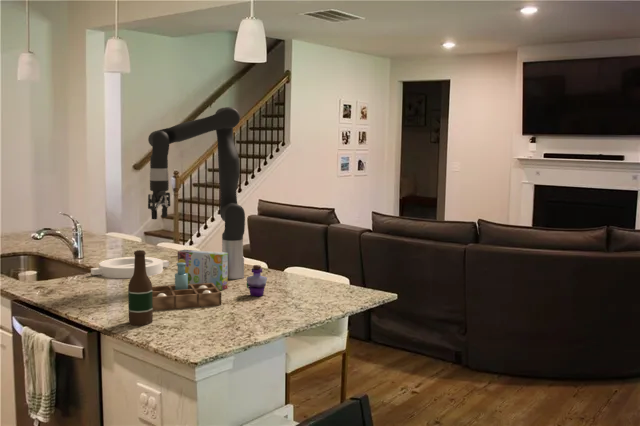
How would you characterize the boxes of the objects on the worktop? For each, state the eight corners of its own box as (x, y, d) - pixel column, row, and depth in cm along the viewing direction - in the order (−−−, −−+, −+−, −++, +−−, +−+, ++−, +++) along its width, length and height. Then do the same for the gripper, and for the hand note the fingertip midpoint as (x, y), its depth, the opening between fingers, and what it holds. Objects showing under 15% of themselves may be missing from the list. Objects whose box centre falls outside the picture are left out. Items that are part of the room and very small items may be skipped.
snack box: (228, 288, 248) (228, 252, 247) (221, 291, 243) (221, 254, 242) (183, 283, 255) (183, 248, 254) (176, 286, 250) (176, 250, 248)
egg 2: (207, 294, 234) (207, 284, 234) (209, 296, 230) (209, 286, 230) (197, 294, 233) (197, 284, 232) (198, 297, 229) (198, 286, 229)
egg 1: (166, 302, 221) (166, 291, 220) (168, 305, 217) (168, 294, 217) (155, 303, 219) (155, 292, 219) (156, 305, 216) (156, 294, 215)
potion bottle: (243, 293, 239) (243, 264, 238) (263, 291, 243) (264, 262, 241) (249, 298, 231) (249, 268, 230) (270, 296, 235) (270, 266, 234)
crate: (212, 294, 237) (212, 282, 237) (221, 304, 221) (221, 292, 221) (146, 298, 228) (146, 286, 228) (150, 310, 212) (150, 297, 212)
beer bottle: (131, 319, 201) (130, 248, 198) (155, 319, 202) (154, 248, 199) (125, 326, 193) (124, 252, 191) (150, 326, 194) (149, 253, 191)
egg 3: (211, 299, 227) (211, 288, 226) (213, 301, 223) (213, 291, 222) (200, 299, 225) (200, 289, 225) (202, 302, 221) (202, 291, 221)
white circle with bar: (171, 267, 290) (171, 257, 289) (149, 280, 262) (149, 269, 262) (115, 265, 292) (115, 255, 292) (88, 277, 265) (87, 267, 264)
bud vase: (187, 295, 232) (186, 261, 230) (188, 298, 227) (188, 264, 226) (174, 296, 230) (174, 262, 229) (175, 299, 226) (175, 264, 224)
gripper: (158, 180, 240) (159, 220, 242) (175, 178, 254) (176, 216, 256) (141, 179, 242) (142, 219, 244) (159, 178, 256) (160, 216, 258)
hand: (159, 218), depth 250 cm, fingers open, 8 cm apart
